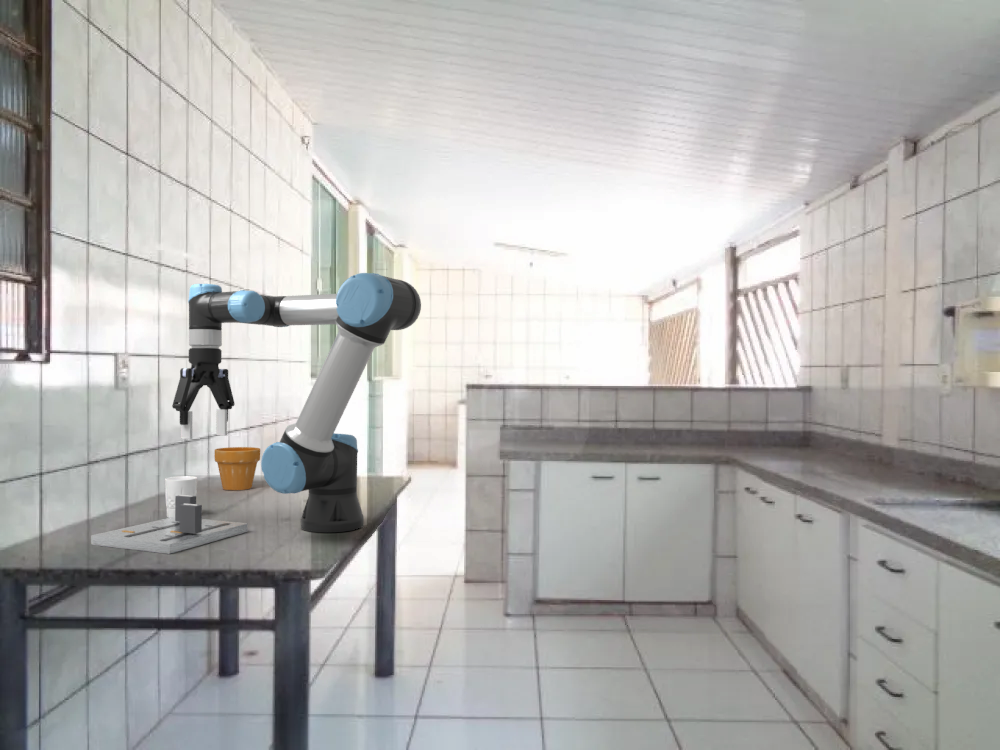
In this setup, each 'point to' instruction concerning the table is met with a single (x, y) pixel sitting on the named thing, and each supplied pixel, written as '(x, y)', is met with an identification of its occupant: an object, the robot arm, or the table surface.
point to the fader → (190, 518)
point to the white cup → (178, 490)
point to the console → (167, 535)
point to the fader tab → (182, 500)
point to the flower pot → (237, 466)
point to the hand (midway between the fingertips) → (204, 436)
